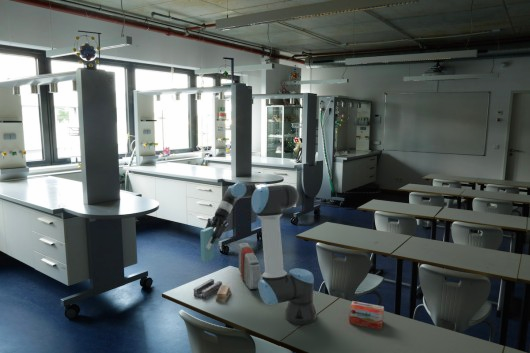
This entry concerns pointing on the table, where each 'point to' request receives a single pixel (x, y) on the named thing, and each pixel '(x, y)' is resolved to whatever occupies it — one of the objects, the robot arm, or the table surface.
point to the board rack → (207, 289)
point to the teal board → (205, 238)
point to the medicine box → (366, 315)
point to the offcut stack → (223, 293)
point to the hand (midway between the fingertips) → (205, 247)
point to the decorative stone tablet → (249, 266)
